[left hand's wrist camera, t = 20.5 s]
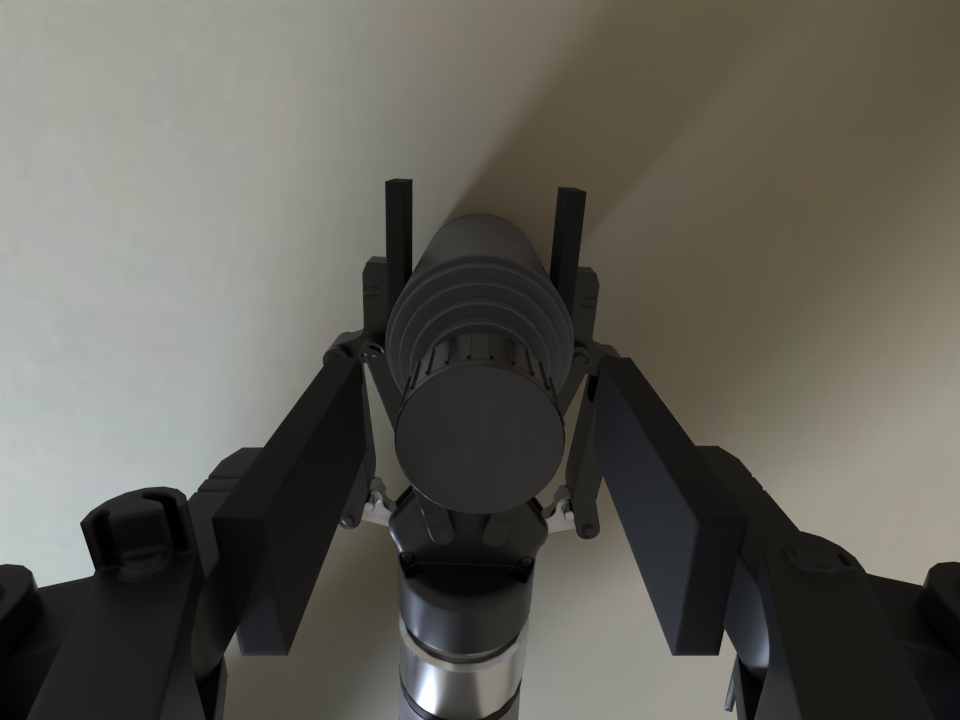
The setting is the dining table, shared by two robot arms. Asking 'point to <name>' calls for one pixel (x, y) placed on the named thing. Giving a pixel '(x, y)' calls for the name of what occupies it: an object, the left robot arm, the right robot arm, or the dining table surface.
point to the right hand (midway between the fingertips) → (485, 185)
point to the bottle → (479, 298)
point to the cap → (479, 425)
